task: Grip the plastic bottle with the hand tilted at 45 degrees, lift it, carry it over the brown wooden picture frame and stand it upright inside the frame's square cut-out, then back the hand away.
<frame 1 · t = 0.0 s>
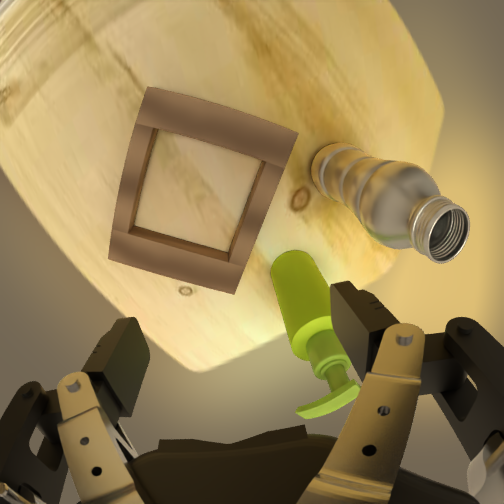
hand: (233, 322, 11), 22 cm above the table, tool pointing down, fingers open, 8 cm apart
brown wooden picture frame: (194, 192, 31), on the table
soap dispenser: (289, 272, 37), on the table
plastic bottle: (332, 167, 31), on the table
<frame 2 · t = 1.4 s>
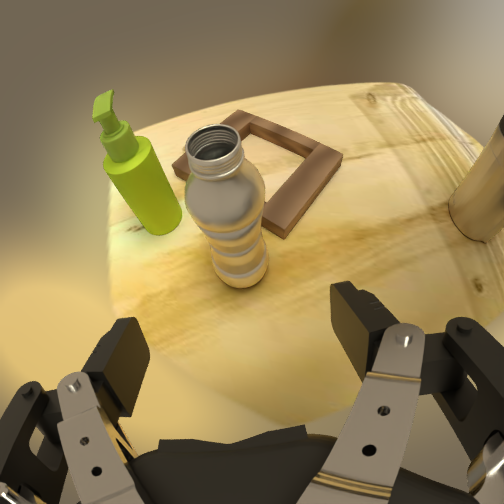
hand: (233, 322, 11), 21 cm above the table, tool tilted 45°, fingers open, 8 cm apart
brown wooden picture frame: (258, 167, 41), on the table
soap dispenser: (162, 215, 39), on the table
plastic bottle: (242, 267, 35), on the table
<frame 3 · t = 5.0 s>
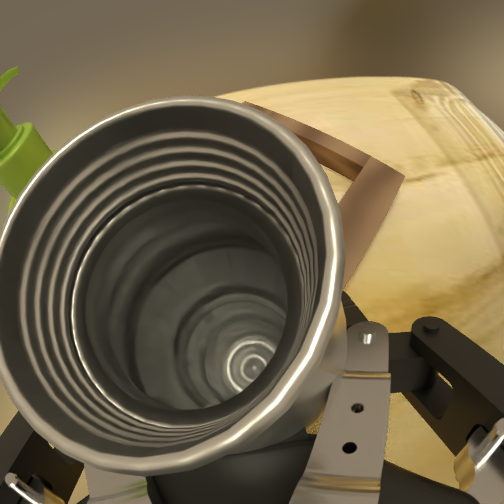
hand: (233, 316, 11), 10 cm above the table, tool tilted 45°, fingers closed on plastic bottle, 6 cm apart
brown wooden picture frame: (276, 192, 27), on the table
soap dispenser: (128, 268, 25), on the table
plastic bottle: (254, 368, 20), on the table, touching gripper
when the fingers open (12 cm above the table, at t = 13.0 s): plastic bottle drops 1 cm, resting in brown wooden picture frame.
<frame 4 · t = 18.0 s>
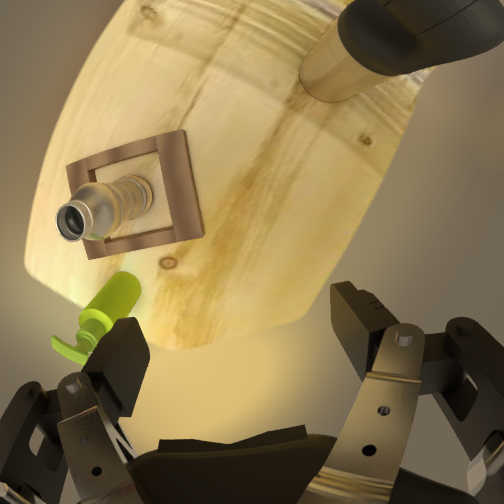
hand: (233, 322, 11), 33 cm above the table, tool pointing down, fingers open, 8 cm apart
brown wooden picture frame: (133, 196, 41), on the table
soap dispenser: (123, 285, 46), on the table
plastic bottle: (136, 194, 41), resting in brown wooden picture frame
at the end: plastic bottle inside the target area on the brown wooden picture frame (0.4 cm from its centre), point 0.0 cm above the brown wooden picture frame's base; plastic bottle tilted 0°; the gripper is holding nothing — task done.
